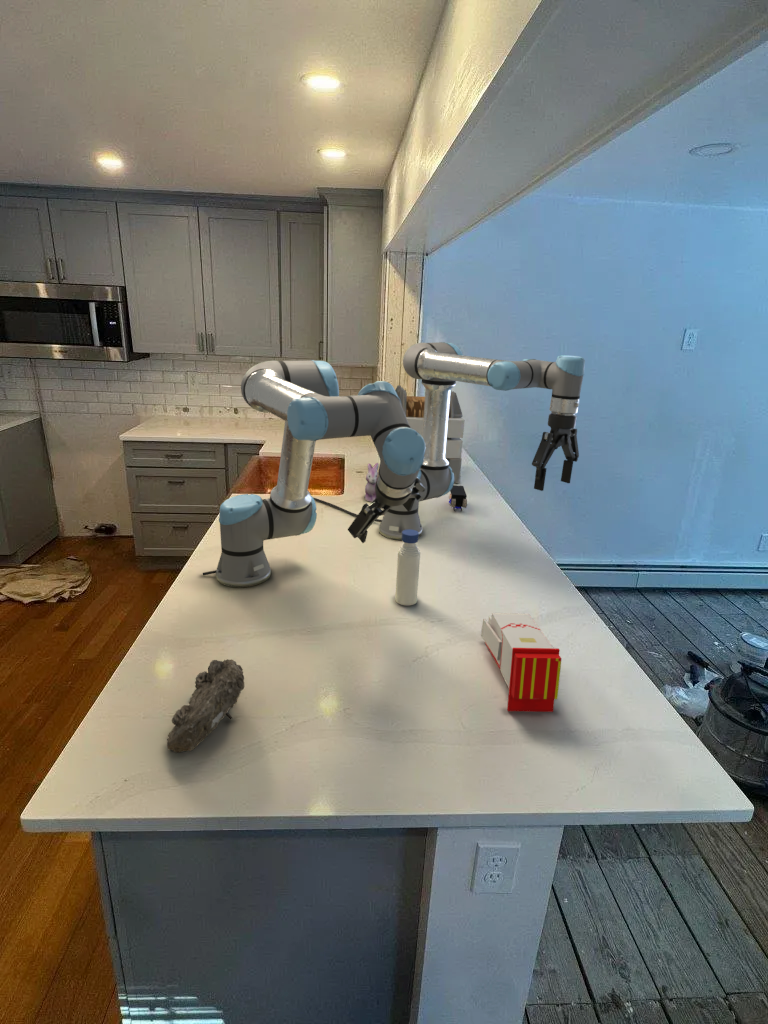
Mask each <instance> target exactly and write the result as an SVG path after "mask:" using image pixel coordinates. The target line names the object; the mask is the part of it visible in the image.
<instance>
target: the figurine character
mask: <svg viewBox="0 0 768 1024" xmlns="http://www.w3.org/2000/svg"><path fill="white" fill-rule="evenodd" d="M467 495H468V494H467V493H466V490H465V487H464V485H456V484H455V485H454V484H453V487H452V489H451V490H450V491H449V496H448V499H449V500H448V504H449V506H450V507H451V508H452V510H453V512H456V510H458V509H459V510H460V512H463V509H464V508H465V509H466V508H467V506H468V499H467V497H468V496H467Z"/></svg>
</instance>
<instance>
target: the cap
mask: <svg viewBox="0 0 768 1024" xmlns="http://www.w3.org/2000/svg"><path fill="white" fill-rule="evenodd" d="M419 538H420V537H419V533H418V531H416V530H411V529H408V530H403V531H402V540H401V541H402V543H404V542H405V543H415V544H417V543H418V542H419Z"/></svg>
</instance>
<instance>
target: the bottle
mask: <svg viewBox="0 0 768 1024" xmlns="http://www.w3.org/2000/svg"><path fill="white" fill-rule="evenodd" d="M396 561H397V563H396V580H395V598H394V600H395V602H396V603H397V604H398V605H401V606H406V607H407V606H414V605H415V604H416V603H417V602H418V591H419V578H420V576H419V575H420V563H421V550H420V548H419V547H418V546H417V543H405V542H403V543H402V545H401V546H400V547H399V548H398V550H397V560H396Z"/></svg>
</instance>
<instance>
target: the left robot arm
mask: <svg viewBox="0 0 768 1024" xmlns="http://www.w3.org/2000/svg"><path fill="white" fill-rule="evenodd" d="M395 390H396V388H395V387H394V386H393V384H392V383H390V382H388V381H385V380H377V381H375V382H373V383H367V384H365V385H364V386H363V387H362V388H361V389H360V390H359V391H358V393H357V394H356V395H355V394H354V395H343V396H341V395H340V388H339V381H338V377H337V374H336V371H335V370H334V368H333V366H332V365H331V364H330V363H329V362H327V361H326V360H314V359H309V360H265V361H262V362H259V363H256V364H255V365H253V366H251V367H249V369H248V370H247V371H246V373H244V375H243V376H242V379H241V383H240V392H241V396H242V398H243V400H244V402H245V403H246V404H247V405H248V406H249V407H250V408H252V409H254V410H255V411H257V412H260V413H270V414H271V415H273V416H276V417H278V419H281V420H283V421H284V427H283V435H282V443H281V451H280V458H279V467H278V473H277V474H278V475H277V483H276V485H275V486H274V487H273V488H271V491H270V493H269V494H270V495H269V498H263V499H262V497H261V496H260V495H258V494H254V493H249V494H248V493H245V494H244V493H243V494H237V495H234V496H231V497H229V498H227V499H225V500H224V501H223V502H222V503H221V504H220V506H219V512H218V514H219V516H218V522H219V534H220V547H221V549H220V550H221V552H220V556H219V560H218V564H217V567H216V570H210V571H204V572H202V576H208V575H213V574H215V576H216V580H217V581H218V583H220V584H221V585H224V586H227V587H233V588H247V587H255V586H258V585H261V584H264V583H265V582H266V581H268V580H269V579H270V577H271V575H272V574H271V573H272V572H271V566H270V563H269V560H268V558H267V555H266V553H265V550H264V541H267V540H275V539H281V538H287V537H294V536H295V537H297V536H301V535H304V534H307V533H309V532H311V531H312V530H313V528H314V527H315V525H316V521H317V504H316V501H315V500H314V499H313V498H314V497H313V496H312V495H311V492H310V491H309V483H310V478H311V472H312V465H313V461H314V455H315V454H314V453H315V447H316V443H317V441H320V440H331V439H333V440H334V439H343V438H355V437H356V438H357V437H368V436H369V437H371V440H372V442H373V445H374V447H375V449H376V452H377V454H378V457H379V465H378V470H377V472H378V474H377V480H376V484H375V493H376V498H375V500H374V501H371V503H370V504H368V503H367V502H366V503H364V504H363V505H362V507H361V510H360V511H359V513H357V517H356V516H355V518H354V520H352V523H351V524H350V525H349V527H348V528H347V531H348V532H349V534H350V535H351V536H352V537H353V538H354V539H359V541H360V542H361V544H365V543H366V541H367V538H368V537H367V536H368V529H369V528H370V527H371V526H372V525H373V524H374V522H376V521H375V520H376V519H379V517H381V516H383V515H384V514H385V513H386V512H387V511H388V510H389V509H390V508H392V507H393V506H400V505H403V506H404V507H405V508H406V510H407V511H408V512H409V511H411V509H412V506H413V504H414V501H415V499H417V500H419V499H420V498H421V496H420V495H419V492H420V491H421V492H424V491H425V490H426V489H425V487H424V486H423V485H422V484H421V483H420V480H419V479H418V477H417V475H418V473H419V470H420V468H421V466H422V464H423V461H424V455H425V449H426V446H425V441H424V439H423V437H422V436H421V435H420V434H419V433H418V432H416V431H415V430H414V429H411V427H410V426H409V423H408V421H407V418H406V415H405V413H404V410H403V407H402V403H401V400H400V398H399V397H398V395H397V393H396V391H395Z"/></svg>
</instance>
